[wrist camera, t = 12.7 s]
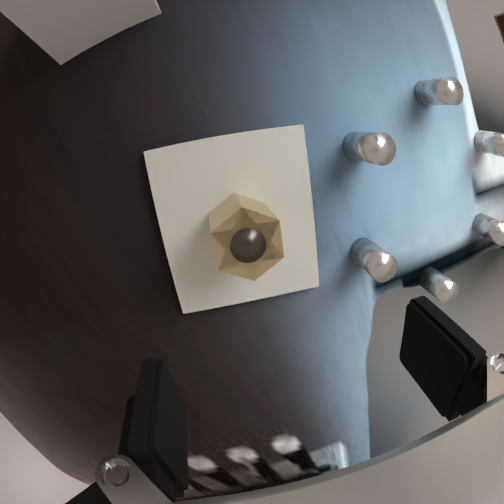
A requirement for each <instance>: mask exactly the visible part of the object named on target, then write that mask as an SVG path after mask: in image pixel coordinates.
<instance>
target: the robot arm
mask: <svg viewBox="0 0 504 504" xmlns="http://www.w3.org/2000/svg"><path fill="white" fill-rule="evenodd" d="M485 354H486V351H485V350H484V349H483V348H482V347H481V346H480V345H479V344H478V343H477V342H476V341H475V340H474V339H473V338H471V337H470V336H469V335H468V334H467V333H466V332H465V331H464V330H463V329H462V328H461V327H459V326H458V325H457V324H456V323H455V322H454V321H453V320H452V319H451V318H449V317H448V316H447V315H446V314H445V313H444V312H443V311H442V310H440V309H439V308H438V307H437V306H436V305H434V304H433V303H432V302H431V301H430V300H429V299H428V298H426V297H425V296H420V297H418V298H415V299H412V300H410V302H409V304H408V305H407V307H406V315H405V323H404V330H403V337H402V343H401V349H400V361H401V363H402V364H403V365H404V366H405V368H406V369H407V371H408V372H409V373H410V375H411V376H412V377H413V378H414V380H415V381H416V382H417V384H418V385H419V386H420V388H421V389H422V390H423V392H424V393H425V394H426V396H427V397H428V398H429V400H430V401H431V402H432V404H433V405H434V406H435V408H436V409H437V410H438V412H439V413H440V414H441V416H443V417H444V416H445V417H446V418H447V419H448V421H449V422H450V421H451V420H453V419H455V418H457V417H459V416H460V415H461V417H460V418H458V419H456V420H454V421H452V422H451V423H449V424H447V425H445V426H443V427H441V428H439V429H437V430H435V431H433V432H431V433H429V434H427V435H425V436H423V437H421V438H419V439H417V440H414V441H412V442H410V443H408V444H406V445H403V446H401V447H399V448H396V449H394V450H392V451H389V452H387V453H384V454H382V455H379V456H377V457H374V458H371V459H369V460H366V461H363V462H360V463H358V464H355V465H352V466H349V467H346V468H343V469H340V470H337V471H333V472H330V473H327V474H323V475H320V476H316V477H313V478H309V479H305V480H301V481H297V482H293V483H289V484H285V485H280V486H276V487H271V488H266V489H261V490H255V491H250V492H244V493H238V494H232V495H225V496H218V497H209V498H202V499H195V500H187V501H181V502H176V498H180V497H184V490H187V489H188V464H187V413H186V408H185V406H184V404H183V402H182V399H181V397H180V395H179V393H178V390H177V388H176V386H175V383H174V381H173V379H172V376H171V374H170V372H169V369H168V367H167V364H166V362H165V361H164V360H162V361H160V359H159V358H158V357H155V358H147V359H143V360H142V364H141V369H140V374H139V379H138V384H137V390H136V395H132V396H129V398H128V401H127V406H126V411H125V416H124V422H123V427H122V433H121V439H120V445H119V451H118V455H111V456H108V457H106V458H104V459H103V460H102V461H100V462H99V464H98V465H97V467H96V469H95V480H96V482H94V483H93V484H92V485H90V486H89V487H88V488H86V489H85V490H84V491H83V492H81V493H79V494H78V495H77V496H75V497H74V498H72V499H71V500H70V501H68V502H67V503H65V504H504V351H496V352H493V353H492V354H490V355H489V357H487V356H486V355H485Z"/></svg>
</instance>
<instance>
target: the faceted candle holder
mask: <svg viewBox="0 0 504 504" xmlns="http://www.w3.org/2000/svg"><path fill="white" fill-rule="evenodd" d="M209 225H210V236H211V240H212V245H213V250H214V255H215V260H216V265H217V269H218V271H221V272H225V273H228V274H231V275H235V276H238V277H242V278H245V279H248V280H252V281H255V280H256V279H257V278H259V277H260V276H261V275H263V274H264V273H265V272H266V271H268V270H269V269H270V268H271V267H273V266H274V265H275V264H276V263H278V262H279V261H280V260H281V259H283V258H284V251H283V243H282V235H281V227H280V220H279V219H278V218H277V217H276V216H275V214H274V213H273V212H272V211H271V210H270V209H269V208H268V206H267V205H266V204H265V203H263V202H260V201H258V200H255V199H252V198H249V197H246V196H244V195H241V194H238V193H235V192H233V193H232V194H231V195H230V196H229V197H227V198H226V199H225V200H224V201H223V202H221V203H220V204H219V205H218V206H217V207H215V208H214V209H213V210H212V211H211V212H210V213H209Z"/></svg>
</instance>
